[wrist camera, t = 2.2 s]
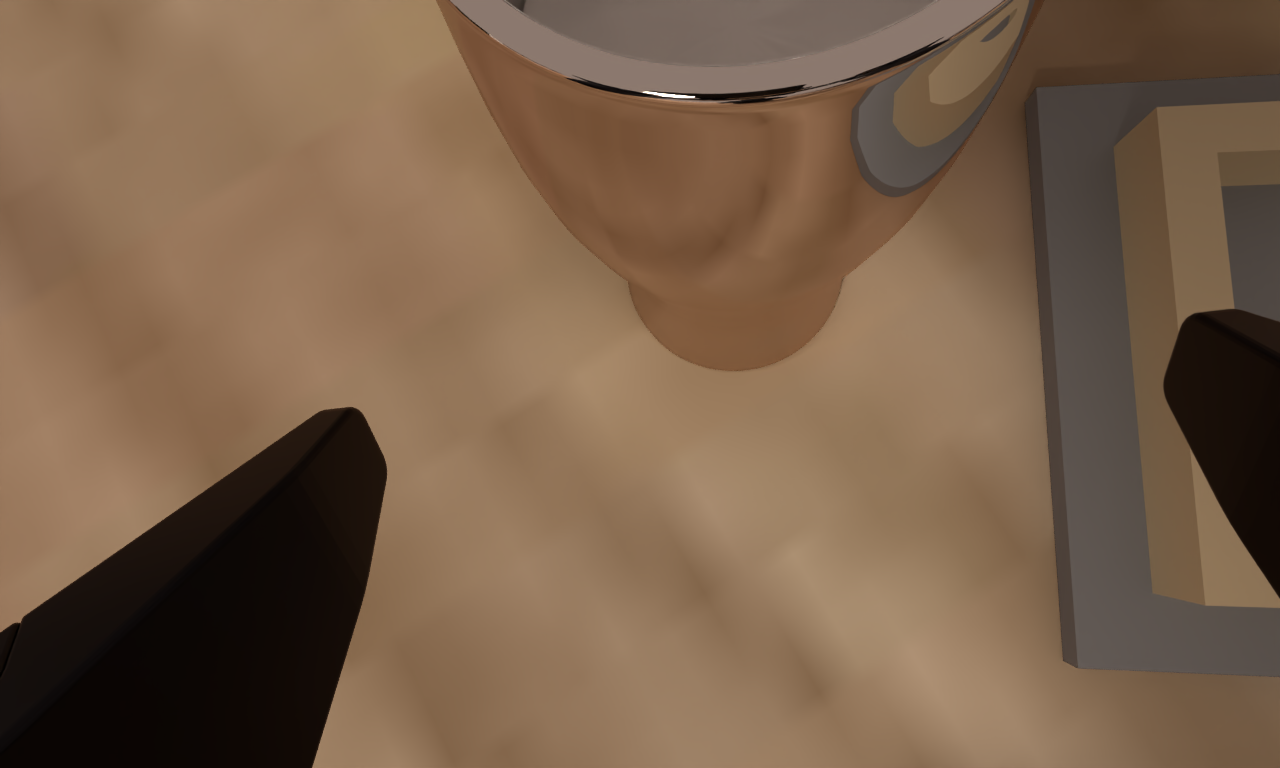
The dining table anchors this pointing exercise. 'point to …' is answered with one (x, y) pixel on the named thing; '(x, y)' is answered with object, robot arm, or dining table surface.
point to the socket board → (1149, 358)
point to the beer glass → (736, 141)
